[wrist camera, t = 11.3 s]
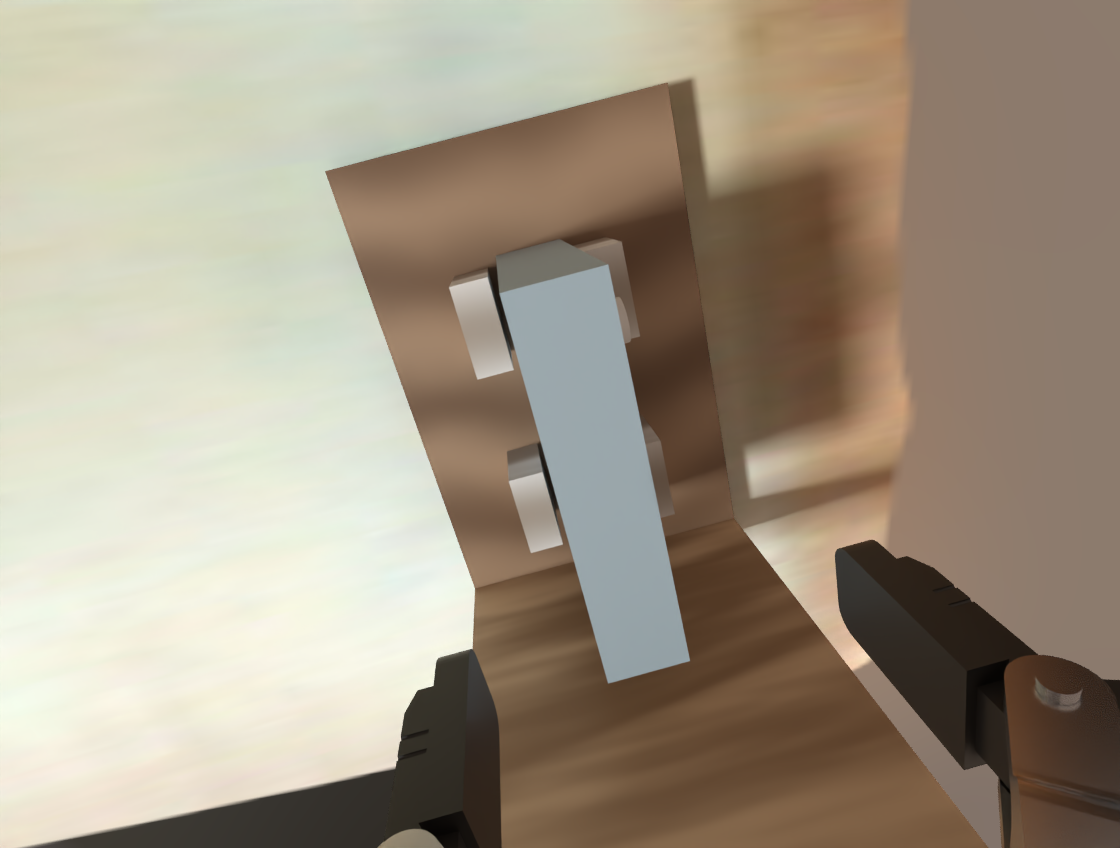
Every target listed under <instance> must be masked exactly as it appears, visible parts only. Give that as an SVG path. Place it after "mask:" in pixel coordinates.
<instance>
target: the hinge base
mask: <svg viewBox="0 0 1120 848" xmlns="http://www.w3.org/2000/svg"><path fill="white" fill-rule="evenodd" d="M325 172H326V175H327V178H328V181H329V183H330V186H331V189H332V192H333V194H334V197H335V200H336V203H337V206H338V208H339V211H340V214H341V217H342V219H343V222H344V225H345V228H346V231H347V233H348V236H349V239H350V242H351V245H352V247H353V250H354V253H355V256H356V258H357V261H358V264H359V267H360V270H361V272H362V275H363V278H364V281H365V283H366V286H367V289H368V292H369V295H370V297H371V300H372V303H373V306H374V308H375V311H376V314H377V317H378V320H379V322H380V325H381V328H382V331H383V334H384V336H385V339H386V342H387V345H388V347H389V350H390V353H391V356H392V359H393V361H394V364H395V367H396V370H397V372H398V375H399V378H400V381H401V384H402V386H403V389H404V392H405V395H406V398H407V400H408V403H409V406H410V409H411V411H412V414H413V417H414V420H415V423H416V425H417V428H418V431H419V434H420V436H421V439H422V442H423V445H424V448H425V450H426V453H427V456H428V459H429V461H430V464H431V467H432V470H433V473H434V475H435V478H436V481H437V484H438V487H439V489H440V492H441V495H442V498H443V500H444V503H445V506H446V509H447V512H448V514H449V517H450V520H451V523H452V525H453V528H454V531H455V534H456V537H457V539H458V542H459V545H460V548H461V550H462V553H463V556H464V559H465V562H466V564H467V567H468V570H469V573H470V576H471V578H472V581H473V584H474V587H475V606H474V631H473V651H474V652H475V654H476V656H477V659H478V661H479V664H480V667H481V669H482V672H483V674H484V677H485V680H486V682H487V685H488V687H489V690H490V693H491V695H492V698H493V701H494V704H495V708H496V712H497V717H498V724H499V741H500V789H501V838H502V848H988V847H987V845H986V844H985V843H984V842H983V840H982V839H981V838H980V836H979V835H978V834H977V832H976V831H975V830H974V829H973V827H972V826H971V825H970V823H969V822H968V821H967V819H966V818H965V817H964V816H963V814H962V813H961V812H960V810H959V809H958V808H957V807H956V805H955V804H954V803H953V801H952V800H951V799H950V797H949V796H948V795H947V794H946V792H945V791H944V790H943V789H942V787H941V786H940V784H939V783H938V782H937V781H936V779H935V778H934V777H933V776H932V774H931V773H930V772H929V770H928V769H927V768H926V766H925V765H924V764H923V762H922V761H921V760H920V759H919V758H918V756H917V755H916V753H915V752H914V751H913V749H912V748H911V747H910V746H909V745H908V743H907V742H906V740H905V739H904V738H903V737H902V735H901V734H900V733H899V731H897V729H896V728H895V726H894V725H893V724H892V722H891V721H890V720H889V718H888V717H887V716H886V715H885V713H884V712H883V711H882V709H881V708H880V707H879V705H878V704H877V703H876V702H875V700H874V699H873V698H872V697H871V695H870V694H869V693H868V691H867V690H866V689H865V687H864V686H863V685H862V683H861V682H860V681H859V680H858V678H857V677H856V676H855V674H854V673H853V672H852V670H851V669H850V668H849V667H848V665H847V664H846V663H845V661H844V660H843V659H842V658H841V656H840V655H839V654H838V652H837V651H836V650H835V648H834V647H833V646H832V645H831V643H830V642H829V641H828V639H827V638H826V637H825V636H824V634H823V633H822V632H821V630H820V629H819V628H818V626H817V625H816V624H815V623H814V621H813V620H812V619H811V617H810V616H809V615H808V613H807V612H806V611H805V610H804V608H803V607H802V606H801V604H800V603H799V602H798V601H797V599H796V598H795V597H794V595H793V594H792V593H791V591H790V590H789V589H788V588H787V586H786V585H785V584H784V582H783V581H782V580H781V579H780V577H779V576H778V575H777V573H776V572H775V571H774V569H773V568H772V567H771V566H770V564H769V563H768V562H767V560H766V559H765V558H764V557H763V555H762V554H761V553H760V551H759V550H758V549H757V547H756V546H755V545H754V544H753V542H752V541H751V540H750V538H749V537H748V536H747V534H746V533H745V532H744V531H743V529H742V528H741V527H740V525H739V524H738V523H737V522H736V520H735V519H734V516H733V509H732V502H731V496H730V489H729V483H728V476H727V470H726V463H725V457H724V450H723V443H722V437H721V430H720V424H719V417H718V411H717V404H716V398H715V391H714V384H713V378H712V371H711V365H710V358H709V352H708V345H707V339H706V332H705V325H704V319H703V312H702V306H701V299H700V293H699V286H698V280H697V273H696V266H695V260H694V253H693V247H692V240H691V234H690V227H689V221H688V214H687V207H686V201H685V194H684V188H683V181H682V175H681V168H680V162H679V155H678V148H677V142H676V135H675V129H674V122H673V116H672V109H671V103H670V96H669V89H668V83H664V84H661V85H657V86H653V87H649V88H645V89H641V90H637V91H634V92H630V93H626V94H622V95H618V96H614V97H610V98H607V99H603V100H599V101H595V102H591V103H587V104H583V105H580V106H576V107H572V108H568V109H564V110H560V111H556V112H553V113H549V114H545V115H541V116H537V117H533V118H529V119H526V120H522V121H518V122H514V123H510V124H506V125H502V126H499V127H495V128H491V129H487V130H483V131H479V132H475V133H472V134H468V135H464V136H460V137H456V138H452V139H448V140H445V141H441V142H437V143H433V144H429V145H425V146H421V147H418V148H414V149H410V150H406V151H402V152H398V153H394V154H391V155H387V156H383V157H379V158H375V159H371V160H367V161H364V162H360V163H356V164H352V165H348V166H344V167H340V168H337V169H333V170H329V171H325ZM558 239H560V240H562V241H564V242H566V243H568V244H570V245H572V246H574V247H576V248H578V249H580V250H581V251H583V252H585V253H587V254H589V255H591V256H593V257H595V258H597V259H599V260H601V261H603V262H605V263H606V264H608V266H609V271H610V276H611V280H612V285H613V290H614V295H615V298H616V297H620V298H621V300H622V302H623V304H624V307H625V310H626V313H627V317H628V321H629V326H630V333H631V341H630V342H629V343H625V348H626V353H627V358H628V363H629V367H630V372H631V377H632V382H633V387H634V392H635V397H636V401H637V406H638V411H639V416H640V421H641V426H642V430H643V435H644V440H645V445H646V450H647V455H648V459H649V464H650V469H651V474H652V479H653V484H654V489H655V493H656V498H657V503H658V508H659V513H660V518H661V522H662V527H663V532H664V537H665V542H666V547H667V551H668V556H669V561H670V566H671V571H672V576H673V581H674V585H675V590H676V595H677V600H678V605H679V610H680V614H681V619H682V624H683V629H684V634H685V639H686V643H687V648H688V653H689V658H690V661H688V662H685V663H681V664H677V665H674V666H670V667H666V668H663V669H659V670H656V671H652V672H648V673H645V674H641V675H638V676H634V677H630V678H627V679H623V680H619V681H616V682H612V683H609V684H608V681H607V678H606V674H605V671H604V667H603V663H602V660H601V656H600V653H599V649H598V646H597V642H596V638H595V635H594V631H593V628H592V624H591V620H590V617H589V613H588V610H587V606H586V602H585V599H584V595H583V592H582V588H581V584H580V581H579V577H578V574H577V570H576V567H575V563H574V559H573V556H572V552H571V549H570V545H569V541H568V538H567V534H566V531H565V527H564V523H563V520H562V516H561V513H560V509H559V505H558V502H557V498H556V495H555V491H554V487H553V484H552V480H551V477H550V473H549V470H548V466H547V462H546V459H545V455H544V452H543V448H542V444H541V441H540V437H539V434H538V430H537V426H536V423H535V419H534V416H533V412H532V408H531V405H530V401H529V398H528V394H527V391H526V387H525V383H524V380H523V376H522V373H521V369H520V365H519V362H518V358H517V355H516V351H515V347H514V344H513V340H512V337H511V333H510V329H509V326H508V322H507V319H506V315H505V311H504V308H503V304H502V301H501V297H500V294H499V284H498V273H497V263H496V256H497V255H501V254H505V253H508V252H512V251H516V250H520V249H524V248H527V247H531V246H535V245H539V244H543V243H546V242H550V241H554V240H558Z"/></svg>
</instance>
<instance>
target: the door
mask: <svg viewBox="0 0 1120 848" xmlns="http://www.w3.org/2000/svg"><path fill="white" fill-rule="evenodd" d="M496 263H497V273H498V284H499V294H500V297H501V301H502V304H503V308H504V311H505V315H506V319H507V322H508V326H509V329H510V333H511V337H512V340H513V344H514V347H515V351H516V355H517V358H518V362H519V365H520V369H521V373H522V376H523V380H524V383H525V387H526V391H527V394H528V398H529V401H530V405H531V408H532V412H533V416H534V419H535V423H536V426H537V430H538V434H539V437H540V441H541V444H542V448H543V452H544V455H545V459H546V462H547V466H548V470H549V473H550V477H551V480H552V484H553V487H554V491H555V495H556V498H557V502H558V505H559V509H560V513H561V516H562V520H563V523H564V527H565V531H566V534H567V538H568V541H569V545H570V549H571V552H572V556H573V559H574V563H575V567H576V570H577V574H578V577H579V581H580V584H581V588H582V592H583V595H584V599H585V602H586V606H587V610H588V613H589V617H590V620H591V624H592V628H593V631H594V635H595V638H596V642H597V646H598V649H599V653H600V656H601V660H602V663H603V667H604V671H605V674H606V678H607V681H608V684H609V683H612V682H616V681H619V680H623V679H627V678H630V677H634V676H638V675H641V674H645V673H648V672H652V671H656V670H659V669H663V668H666V667H670V666H674V665H677V664H681V663H685V662H688V661H690V658H689V653H688V648H687V643H686V639H685V634H684V629H683V624H682V619H681V614H680V610H679V605H678V600H677V595H676V590H675V585H674V581H673V576H672V571H671V566H670V561H669V556H668V551H667V547H666V542H665V537H664V532H663V527H662V522H661V518H660V513H659V508H658V503H657V498H656V493H655V489H654V484H653V479H652V474H651V469H650V464H649V459H648V455H647V450H646V445H645V440H644V435H643V430H642V426H641V421H640V416H639V411H638V406H637V401H636V397H635V392H634V387H633V382H632V377H631V372H630V367H629V363H628V358H627V353H626V348H625V343H629V342H630V341H631V333H630V326H629V321H628V317H627V313H626V310H625V307H624V304H623V302H622V300H621V298H620V297H616V298H615V295H614V290H613V285H612V280H611V276H610V271H609V266H608V264H606V263H605V262H603V261H601V260H599V259H597V258H595V257H593V256H591V255H589V254H587V253H585V252H583V251H581V250H580V249H578V248H576V247H574V246H572V245H570V244H568V243H566V242H564V241H562V240H560V239H558V240H554V241H550V242H546V243H543V244H539V245H535V246H531V247H527V248H524V249H520V250H516V251H512V252H508V253H505V254H501V255H497V256H496Z"/></svg>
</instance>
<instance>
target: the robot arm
mask: <svg viewBox="0 0 1120 848" xmlns="http://www.w3.org/2000/svg"><path fill="white" fill-rule="evenodd" d="M835 563H836V576H837V589H838V602H839V609H840V613H841V616H842V618H843V621H844V623H845V625H846V627H847V629H848V630H849V632H850V633H851V635H852V636H853V637H854V638H855V640H856V641H857V642H858V643H859V644H860V646H861V647H862V648H863V649H864V650H865V652H866V653H867V654H868V655H869V656H870V658H871V659H872V660H873V661H874V662H875V664H876V665H877V666H878V667H879V668H880V669H881V671H882V672H883V673H884V674H885V676H886V677H887V678H888V679H889V680H890V682H891V683H892V684H893V685H894V686H895V687H896V689H897V690H898V691H899V692H900V694H901V695H902V696H903V697H904V698H905V700H906V701H907V702H908V703H909V705H910V706H911V707H912V708H913V709H914V710H915V712H916V713H917V714H918V715H919V717H920V718H921V719H922V720H923V721H924V723H925V724H926V725H927V726H928V727H929V728H930V730H931V731H932V732H933V733H934V735H935V736H936V737H937V738H938V739H939V740H940V742H941V743H942V744H943V745H944V747H945V748H946V749H947V750H948V751H949V753H950V754H951V755H952V756H953V757H954V759H955V760H956V761H957V762H958V763H959V765H960V766H961V767H962V768H963V769H964V770H966V769H970V768H973V767H977V766H980V765H984V764H988V765H989V767H990V768H991V769H992V770H993V771H994V772H995V773H996V775H997V776H998V798H999V799H998V800H999V814H1000V828H1001V829H1000V830H1001V844H1002V848H1120V680H1104V679H1101V678H1100V677H1099V676H1098V675H1097V674H1095V673H1093V672H1092V671H1090V670H1089V669H1087V668H1085V667H1083V666H1081V665H1079V664H1077V663H1074V662H1072V661H1069V660H1066V659H1063V658H1059V657H1054V656H1048V655H1038V654H1036V653H1035V652H1034V651H1033V650H1032V649H1031V648H1029V647H1028V646H1027V645H1026V644H1025V643H1023V642H1022V641H1021V640H1020V639H1019V638H1017V637H1016V636H1015V635H1014V634H1013V633H1011V632H1010V631H1009V630H1008V629H1007V628H1005V627H1004V626H1003V625H1002V624H1001V623H999V622H998V621H997V620H996V619H995V618H993V617H992V616H991V615H989V614H988V613H987V612H986V611H985V610H984V609H982V608H981V607H980V606H979V605H978V604H976V603H975V602H971V600H970V598H969V597H968V596H967V595H965V594H964V593H963V592H962V591H961V590H960V589H958V588H955V587H954V585H953V584H952V583H951V582H950V581H949V580H947V579H946V578H945V577H944V576H943V575H942V574H940V573H939V572H938V571H937V570H935V569H934V568H933V567H930V566H928V565H926V564H924V563H921V562H919V561H917V560H914V559H912V558H910V557H907V556H906V557H902V558H899V559H896V558H895V557H894V556H893V555H892V554H890V553H889V552H888V551H887V550H886V549H885V548H884V547H883V546H881V545H880V544H879V543H878V542H876V541H875V540H868V541H865V542H861V543H857V544H854V545H850V546H846V547H843V548H839V549H837V550H836V553H835ZM378 848H502V838H501V789H500V741H499V724H498V717H497V712H496V708H495V704H494V701H493V698H492V695H491V693H490V690H489V687H488V685H487V682H486V680H485V677H484V674H483V672H482V669H481V667H480V664H479V661H478V659H477V656H476V654H475V652H474V651H473V650H472V649H470V650H466V651H462V652H459V653H455V654H452V655H448V656H444V657H441V658H438V660H437V662H436V669H435V678H434V686H432V687H429V688H425V689H421V690H418V691H417V692H416V694H415V696H414V698H413V700H412V701H411V703H410V705H409V707H408V708H407V710H406V712H405V714H404V720H403V726H402V733H401V741H400V745H399V751H398V761H397V763H396V770H395V776H394V782H393V788H392V794H391V800H390V807H389V813H388V819H387V825H386V831H385V837H384V841H383V843H382V844H381V845H380V846H379V847H378Z"/></svg>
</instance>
